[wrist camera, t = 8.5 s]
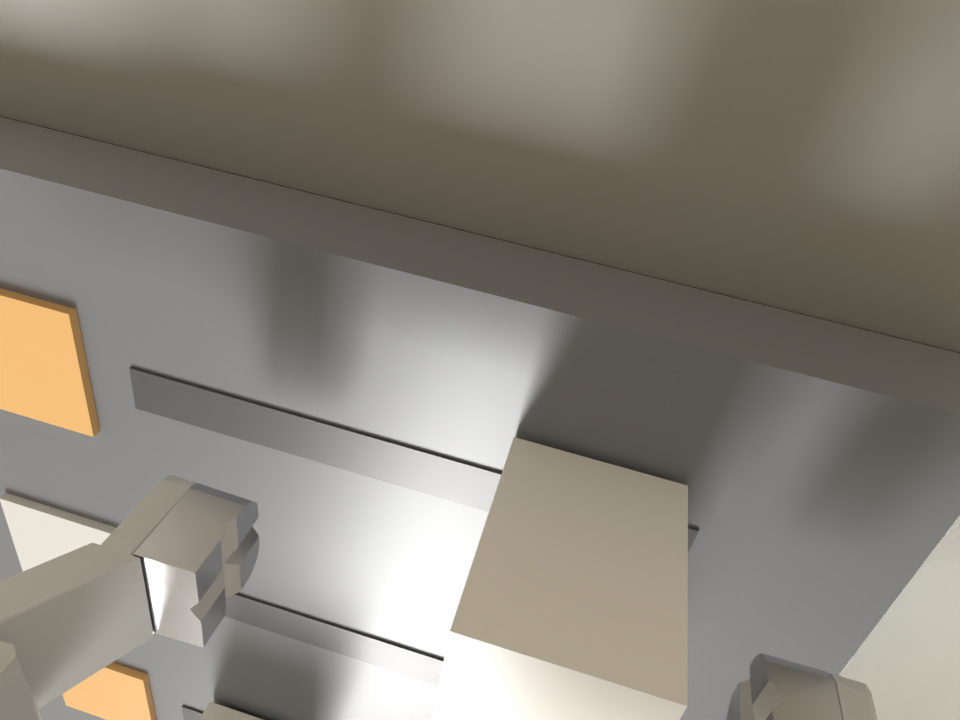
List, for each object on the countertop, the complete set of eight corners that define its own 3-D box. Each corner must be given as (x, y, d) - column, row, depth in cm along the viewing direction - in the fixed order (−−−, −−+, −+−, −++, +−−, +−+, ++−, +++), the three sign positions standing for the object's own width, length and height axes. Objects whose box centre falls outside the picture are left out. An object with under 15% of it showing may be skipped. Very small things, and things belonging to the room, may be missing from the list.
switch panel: (976, 357, 12) (1028, 439, 10) (641, 865, 23) (637, 946, 21) (-78, 97, 14) (-190, 125, 12) (84, 673, 25) (38, 732, 24)
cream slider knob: (687, 485, 12) (687, 707, 9) (638, 598, 14) (622, 818, 10) (513, 437, 12) (449, 631, 9) (486, 553, 14) (424, 752, 11)
